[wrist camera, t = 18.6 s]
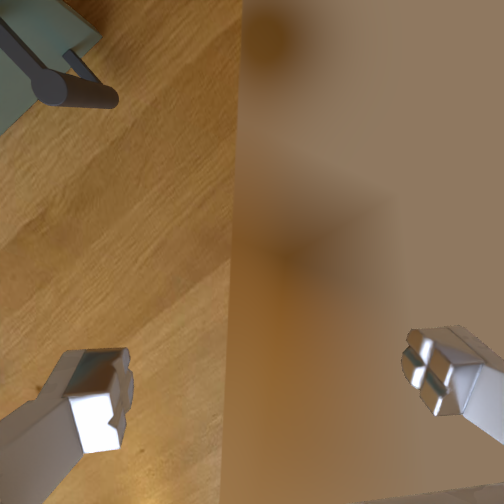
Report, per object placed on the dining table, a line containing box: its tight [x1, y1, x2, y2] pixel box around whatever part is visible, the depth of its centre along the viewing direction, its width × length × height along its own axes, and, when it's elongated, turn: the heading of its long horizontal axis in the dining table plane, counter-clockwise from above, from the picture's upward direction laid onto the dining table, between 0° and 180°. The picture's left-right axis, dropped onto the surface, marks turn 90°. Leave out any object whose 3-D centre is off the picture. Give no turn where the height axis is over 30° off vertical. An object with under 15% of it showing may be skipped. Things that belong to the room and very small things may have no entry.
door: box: [0, 0, 119, 136], centre depth 22 cm, size 6×16×17 cm, turn 127°
